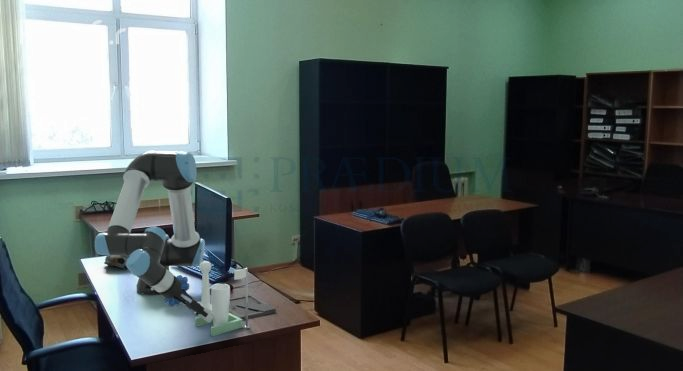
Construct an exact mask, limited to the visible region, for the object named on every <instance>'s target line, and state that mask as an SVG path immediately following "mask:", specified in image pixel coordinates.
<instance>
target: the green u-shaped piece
mask: <svg viewBox="0 0 683 371" xmlns="http://www.w3.org/2000/svg"><path fill="white" fill-rule="evenodd" d="M210 314H211V315H212V316H213V313H210ZM211 323H213V319H212V320H211V321H210V323H208V322H207V321H205V320H204V319H203V318H201V317H200V316H199V315H198V316H196V317H194V326H195V327H199V326H203V325H207V324H211ZM241 328H243V319H241V318H239V317H237V316H235V315H233V314H231V313H229V317H228V322H227V323H223V324H220V325H216V326H210V336H212V337H215V336H218V335H222V334H224V333H228V332H231V331H235V330H238V329H241Z"/></svg>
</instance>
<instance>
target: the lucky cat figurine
mask: <svg viewBox="0 0 683 371" xmlns="http://www.w3.org/2000/svg"><path fill="white" fill-rule="evenodd" d="M129 257H130V256H128V255H111V256H108V255H106V257H105V259H104V262H103V264H104V265H106V266H109V267H110V266H115V267H118V268H121V269H125V270H129V269H128V268H127V266H126V261H127V259H128V258H129Z"/></svg>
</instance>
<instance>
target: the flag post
mask: <svg viewBox="0 0 683 371" xmlns="http://www.w3.org/2000/svg"><path fill="white" fill-rule="evenodd" d="M248 270H249V268H248V267H245V268H241V269H237V270H233V274H234V275H233V276H234V277H233V280H235V281H236V280H240V279H243V278H245V286H244V289H245V293H244V294H245V319H244V320H245V324H244V325H242V328H243V329H244V330H245V329H246V330H247V329H250V328H251V325H250V324H249V318H248V295H249V294H248V292H249V290H248V289H249V288H248V287H249V286H248V285H249V284H248V283H249V281H248V279H249V278H248V276H249V274H248V273H249V272H248Z"/></svg>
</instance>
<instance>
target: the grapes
mask: <svg viewBox="0 0 683 371" xmlns="http://www.w3.org/2000/svg"><path fill="white" fill-rule="evenodd" d="M176 277H177V278H178V279H179V280H180V281H181V282H182V287H181V289H184V290H185V291H186V292H187V291H188V290H189V289H190V283H188V281H189V279H188V277H187V276H183V275H181V274H179V275H177V276H176ZM163 298H164V297H163ZM164 301H165V303H167V304H168V306H169V307H173V306H178V305H180V304H182V303H181V302H179V301H178V300H176V299H174V298H171V299H166V298H164Z"/></svg>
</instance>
